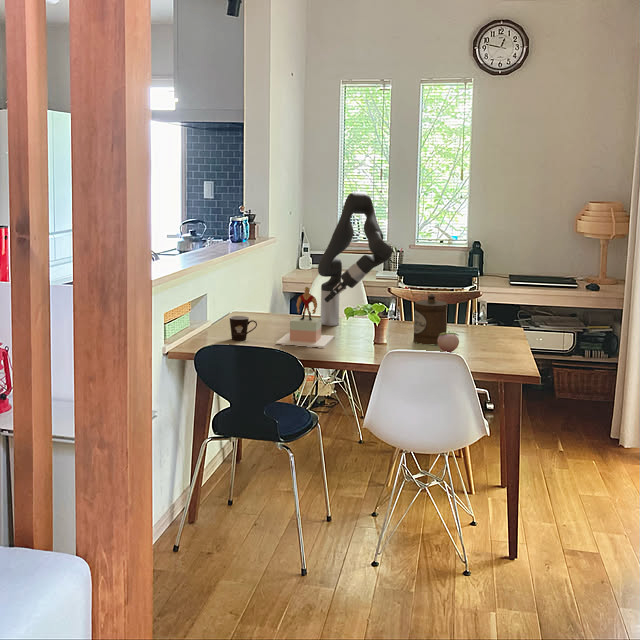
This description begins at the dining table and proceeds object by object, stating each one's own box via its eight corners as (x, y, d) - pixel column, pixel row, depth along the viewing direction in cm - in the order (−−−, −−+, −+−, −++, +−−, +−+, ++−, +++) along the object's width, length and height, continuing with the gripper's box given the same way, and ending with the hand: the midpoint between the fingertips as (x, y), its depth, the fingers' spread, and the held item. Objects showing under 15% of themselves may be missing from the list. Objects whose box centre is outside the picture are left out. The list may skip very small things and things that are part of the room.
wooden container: (410, 338, 377) (412, 291, 373) (441, 338, 378) (444, 291, 374) (416, 345, 362) (419, 296, 358) (449, 345, 364) (452, 297, 359)
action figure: (295, 319, 361) (295, 286, 359) (296, 318, 365) (297, 285, 362) (316, 320, 360) (316, 287, 357) (317, 319, 363) (318, 286, 361)
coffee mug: (226, 340, 363) (226, 318, 361) (234, 336, 371) (234, 315, 369) (249, 342, 359) (249, 320, 357) (257, 339, 367) (257, 317, 365)
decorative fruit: (444, 356, 342) (445, 333, 340) (433, 352, 350) (435, 329, 348) (462, 354, 346) (464, 331, 344) (452, 350, 353) (453, 328, 352)
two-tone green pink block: (288, 334, 377) (288, 313, 375) (334, 338, 373) (335, 316, 371) (275, 344, 356) (275, 322, 354) (324, 348, 352) (324, 325, 350)
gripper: (351, 266, 361) (325, 290, 365) (345, 270, 347) (318, 295, 352) (362, 279, 361) (336, 303, 365) (356, 283, 347) (330, 308, 352)
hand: (327, 299), depth 358 cm, fingers open, 8 cm apart
